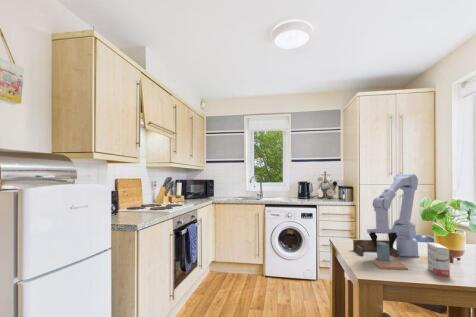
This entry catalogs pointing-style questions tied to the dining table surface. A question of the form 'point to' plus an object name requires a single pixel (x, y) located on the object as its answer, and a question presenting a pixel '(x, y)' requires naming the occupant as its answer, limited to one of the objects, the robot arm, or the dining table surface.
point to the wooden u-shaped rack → (370, 246)
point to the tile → (390, 265)
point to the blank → (383, 251)
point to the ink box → (438, 259)
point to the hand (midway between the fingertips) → (383, 247)
